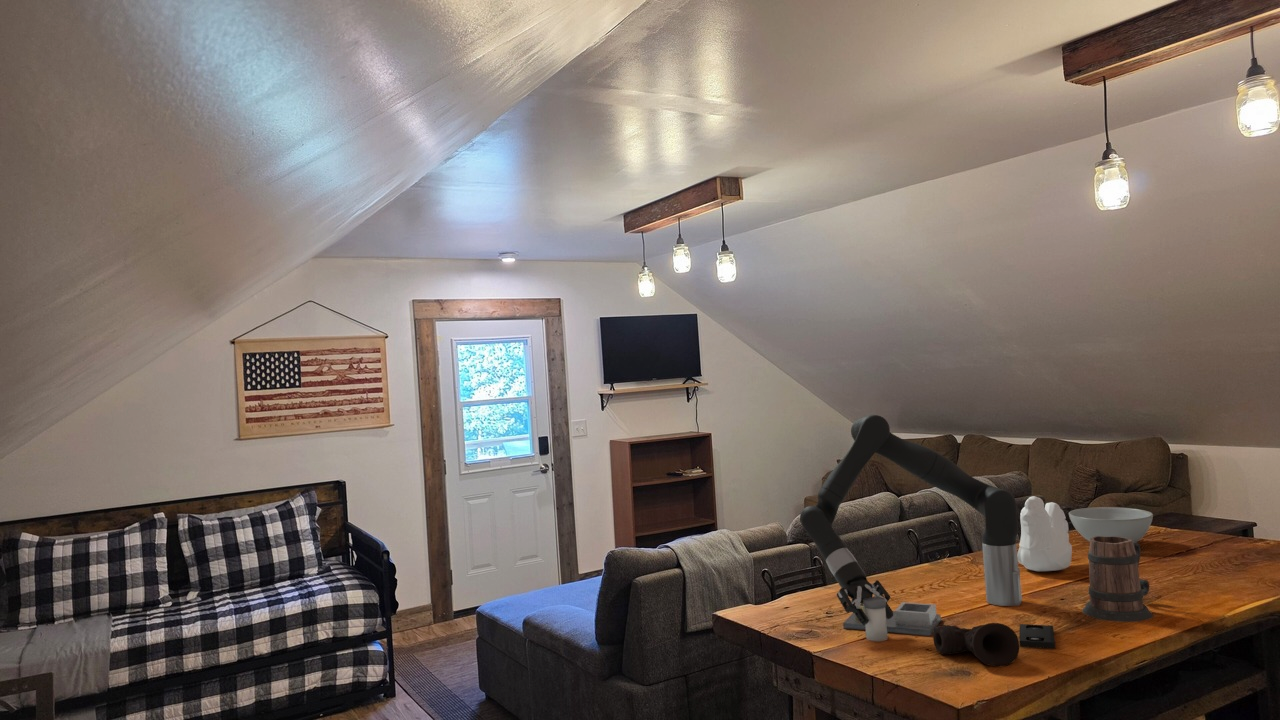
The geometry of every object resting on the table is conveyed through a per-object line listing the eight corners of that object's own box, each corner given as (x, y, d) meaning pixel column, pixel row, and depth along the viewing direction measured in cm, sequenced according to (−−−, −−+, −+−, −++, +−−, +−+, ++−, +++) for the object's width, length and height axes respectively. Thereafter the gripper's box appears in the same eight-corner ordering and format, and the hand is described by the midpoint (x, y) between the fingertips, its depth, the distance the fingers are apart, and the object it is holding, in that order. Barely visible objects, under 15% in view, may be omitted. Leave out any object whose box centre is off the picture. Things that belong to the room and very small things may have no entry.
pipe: (929, 618, 211) (955, 624, 196) (988, 616, 212) (1017, 622, 197) (933, 658, 209) (959, 668, 194) (992, 657, 210) (1022, 666, 195)
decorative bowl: (1055, 542, 318) (1053, 510, 318) (1121, 536, 320) (1119, 504, 321) (1102, 557, 291) (1099, 522, 291) (1173, 550, 294) (1170, 515, 294)
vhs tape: (1020, 631, 220) (1019, 623, 220) (1053, 633, 217) (1053, 625, 217) (1019, 648, 207) (1019, 640, 207) (1055, 651, 204) (1054, 642, 204)
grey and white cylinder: (890, 635, 222) (887, 597, 222) (885, 642, 217) (882, 603, 217) (868, 633, 225) (865, 596, 225) (862, 640, 220) (860, 601, 220)
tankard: (1131, 625, 217) (1125, 548, 218) (1069, 612, 232) (1063, 539, 232) (1178, 607, 229) (1172, 534, 230) (1116, 596, 244) (1110, 527, 244)
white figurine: (1047, 579, 267) (1041, 501, 267) (1006, 570, 281) (1000, 496, 282) (1099, 567, 278) (1093, 491, 278) (1057, 559, 292) (1051, 487, 293)
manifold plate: (941, 620, 233) (939, 601, 233) (930, 636, 220) (928, 616, 220) (858, 613, 244) (857, 596, 244) (843, 628, 231) (842, 610, 231)
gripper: (831, 565, 225) (864, 617, 214) (871, 556, 231) (905, 607, 221) (819, 581, 229) (851, 633, 219) (859, 572, 236) (892, 622, 226)
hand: (878, 620), depth 220 cm, fingers open, 8 cm apart
